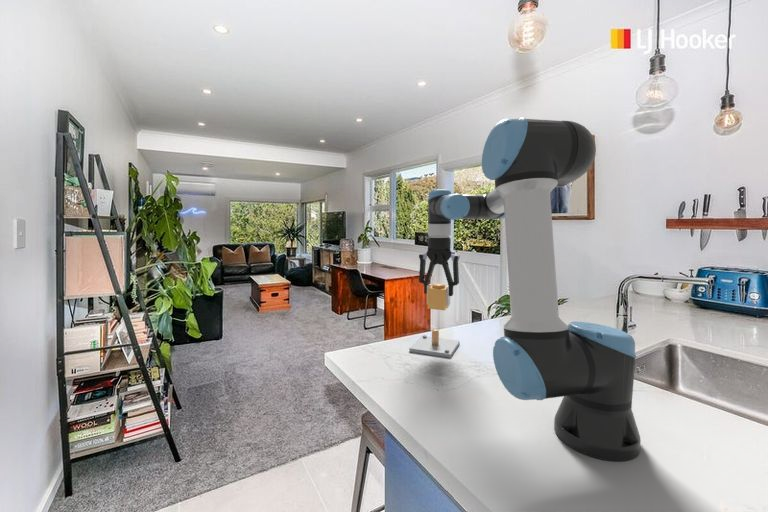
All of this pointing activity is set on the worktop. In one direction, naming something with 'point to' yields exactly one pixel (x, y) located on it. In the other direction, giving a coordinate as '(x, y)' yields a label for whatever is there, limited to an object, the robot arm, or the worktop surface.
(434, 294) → the single stud toy brick
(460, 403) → the worktop surface
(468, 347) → the worktop surface
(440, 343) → the plate
